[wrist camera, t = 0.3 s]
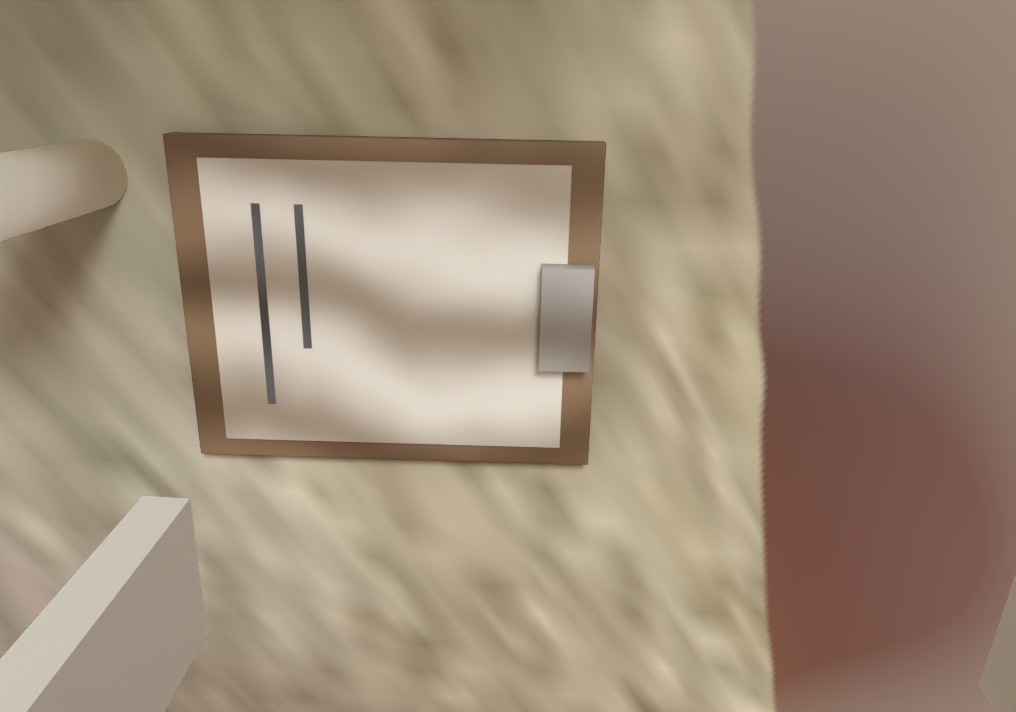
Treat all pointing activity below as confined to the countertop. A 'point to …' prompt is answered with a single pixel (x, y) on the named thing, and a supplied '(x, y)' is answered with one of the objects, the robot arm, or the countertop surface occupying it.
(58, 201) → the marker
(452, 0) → the countertop surface
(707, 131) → the countertop surface
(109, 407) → the countertop surface
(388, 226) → the clipboard
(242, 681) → the countertop surface
